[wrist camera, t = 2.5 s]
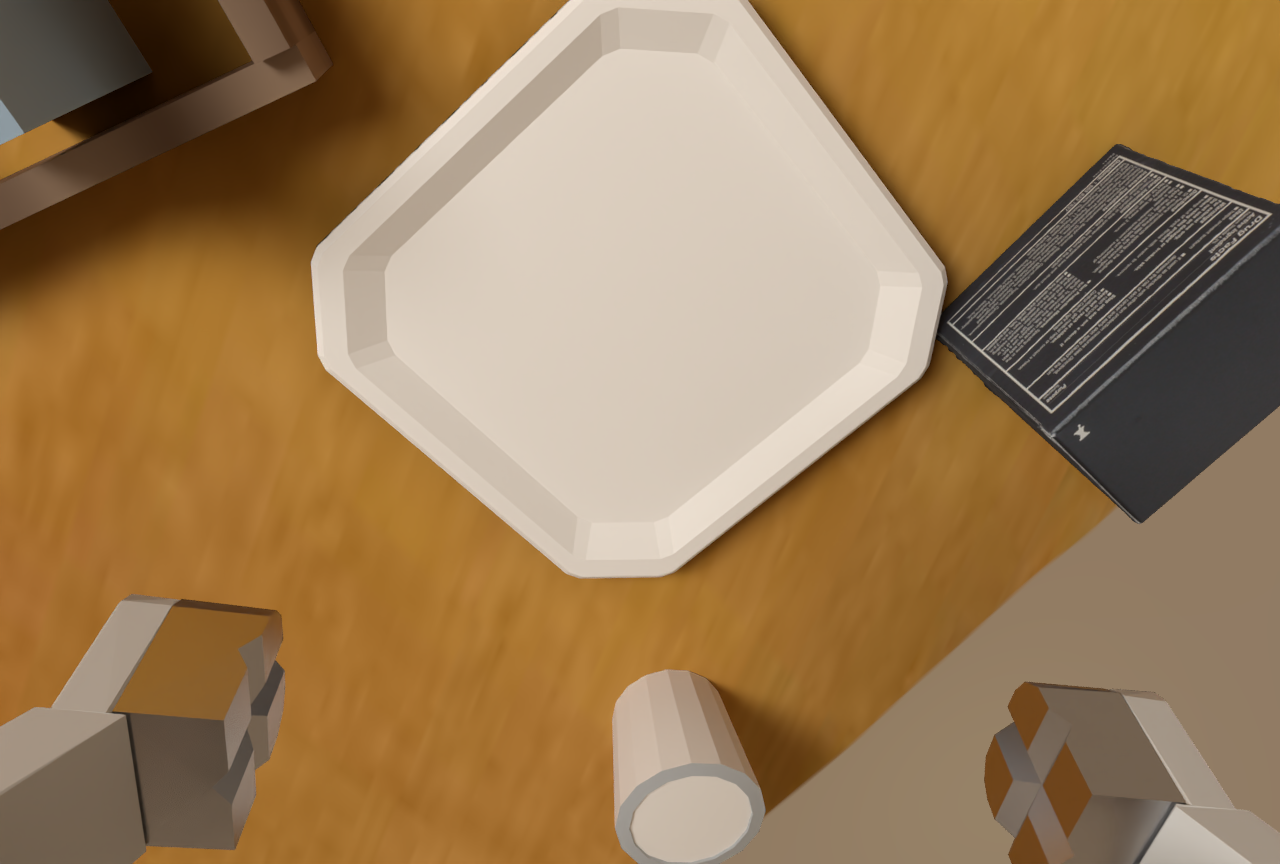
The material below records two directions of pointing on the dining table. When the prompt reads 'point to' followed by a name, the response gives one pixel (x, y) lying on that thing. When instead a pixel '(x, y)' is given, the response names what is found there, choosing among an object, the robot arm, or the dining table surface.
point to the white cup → (681, 773)
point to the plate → (630, 285)
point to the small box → (1133, 325)
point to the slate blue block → (60, 59)
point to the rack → (182, 109)
